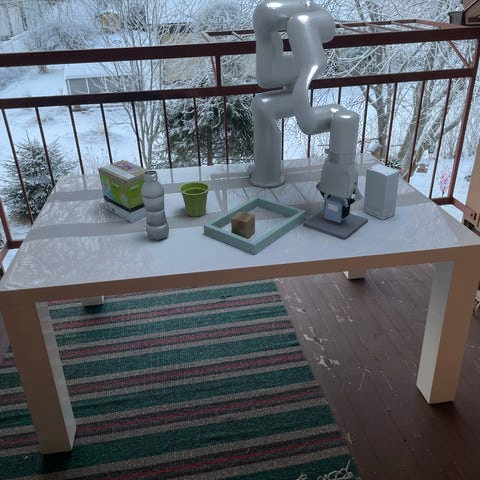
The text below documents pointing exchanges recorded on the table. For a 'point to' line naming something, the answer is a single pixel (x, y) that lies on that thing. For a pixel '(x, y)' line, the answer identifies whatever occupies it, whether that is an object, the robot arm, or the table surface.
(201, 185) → the plant pot
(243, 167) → the table surface
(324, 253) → the table surface
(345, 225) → the mat
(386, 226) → the table surface
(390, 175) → the skincare box
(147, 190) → the plastic bottle
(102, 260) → the table surface
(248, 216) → the walnut block
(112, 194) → the tea box
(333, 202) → the slate box
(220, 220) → the tray
